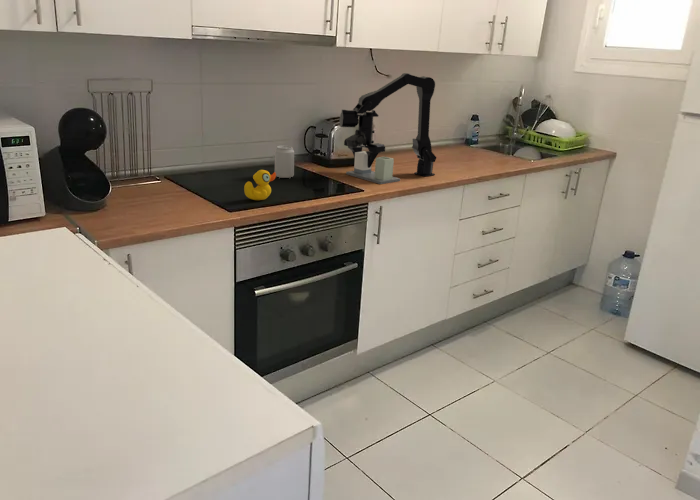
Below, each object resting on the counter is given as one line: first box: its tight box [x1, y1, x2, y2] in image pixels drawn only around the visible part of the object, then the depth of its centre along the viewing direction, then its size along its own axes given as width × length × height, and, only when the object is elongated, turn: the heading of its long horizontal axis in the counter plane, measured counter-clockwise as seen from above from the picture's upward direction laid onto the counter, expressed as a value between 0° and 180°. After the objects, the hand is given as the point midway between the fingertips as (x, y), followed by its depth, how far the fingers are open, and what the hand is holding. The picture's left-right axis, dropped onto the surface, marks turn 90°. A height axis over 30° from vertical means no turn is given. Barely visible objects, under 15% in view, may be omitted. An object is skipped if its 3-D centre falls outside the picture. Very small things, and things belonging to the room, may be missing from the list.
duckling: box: [243, 169, 277, 201], centre depth 193 cm, size 11×5×10 cm, turn 125°
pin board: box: [345, 156, 401, 185], centre depth 234 cm, size 11×20×9 cm, turn 42°
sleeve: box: [353, 150, 373, 174], centre depth 238 cm, size 5×5×8 cm
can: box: [274, 145, 295, 179], centre depth 226 cm, size 8×8×12 cm
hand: (363, 166), depth 239 cm, fingers open, 7 cm apart
